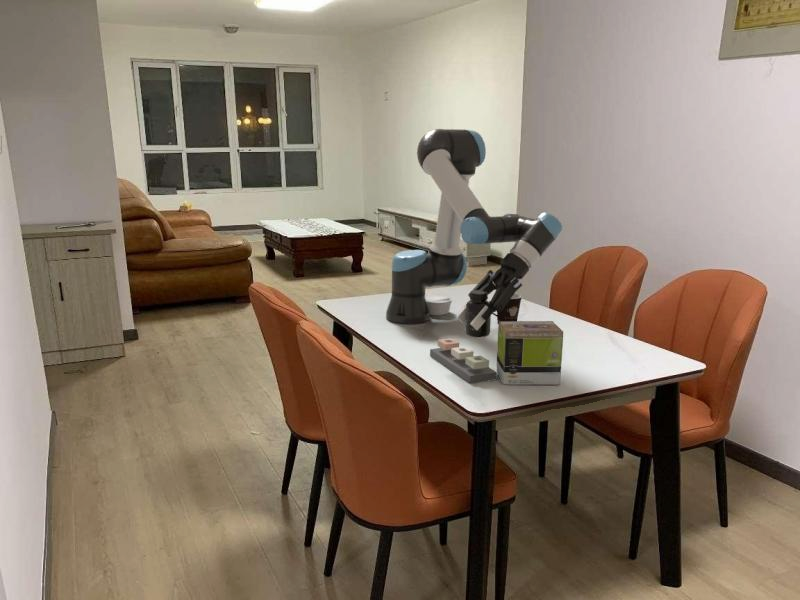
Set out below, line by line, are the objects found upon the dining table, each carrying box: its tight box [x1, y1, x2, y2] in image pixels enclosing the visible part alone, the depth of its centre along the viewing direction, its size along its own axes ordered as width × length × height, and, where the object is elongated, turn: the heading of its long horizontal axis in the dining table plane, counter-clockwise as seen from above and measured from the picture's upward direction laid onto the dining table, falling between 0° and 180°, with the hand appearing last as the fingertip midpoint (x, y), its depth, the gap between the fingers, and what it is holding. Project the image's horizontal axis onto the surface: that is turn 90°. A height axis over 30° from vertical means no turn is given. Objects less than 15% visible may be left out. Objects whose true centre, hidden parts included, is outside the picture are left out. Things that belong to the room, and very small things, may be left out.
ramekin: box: [425, 294, 453, 316], centre depth 230 cm, size 11×11×5 cm
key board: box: [429, 347, 498, 384], centre depth 175 cm, size 23×8×2 cm, turn 24°
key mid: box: [451, 346, 475, 359], centre depth 174 cm, size 4×4×2 cm
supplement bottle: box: [465, 290, 492, 338], centre depth 174 cm, size 7×7×12 cm
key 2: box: [465, 354, 490, 369], centre depth 167 cm, size 4×4×2 cm
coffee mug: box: [488, 293, 522, 326], centre depth 217 cm, size 12×9×10 cm
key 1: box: [437, 337, 460, 351], centre depth 181 cm, size 4×4×2 cm
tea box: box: [496, 320, 564, 386], centre depth 166 cm, size 15×10×15 cm
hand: (466, 323), depth 173 cm, fingers closed on supplement bottle, 7 cm apart
